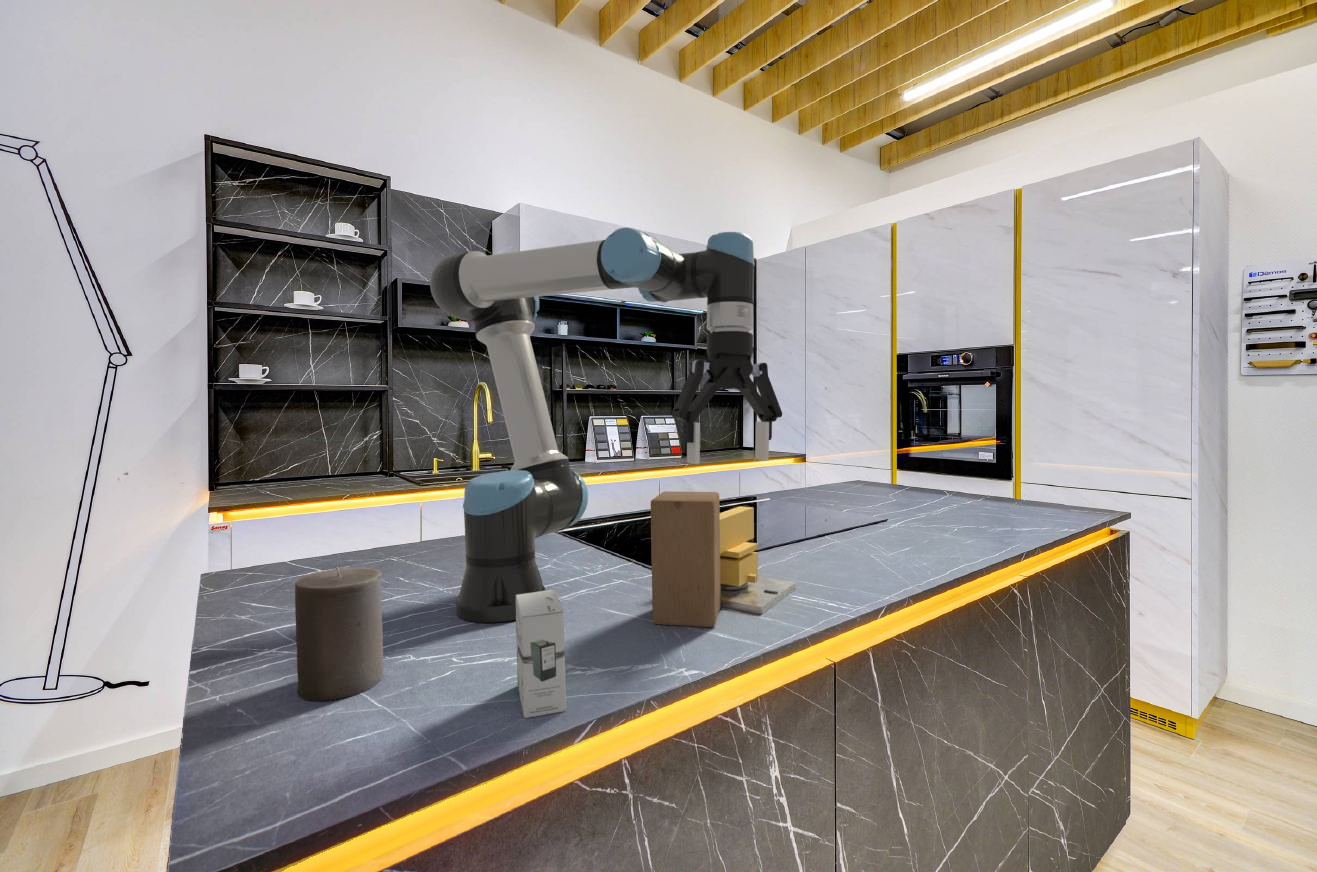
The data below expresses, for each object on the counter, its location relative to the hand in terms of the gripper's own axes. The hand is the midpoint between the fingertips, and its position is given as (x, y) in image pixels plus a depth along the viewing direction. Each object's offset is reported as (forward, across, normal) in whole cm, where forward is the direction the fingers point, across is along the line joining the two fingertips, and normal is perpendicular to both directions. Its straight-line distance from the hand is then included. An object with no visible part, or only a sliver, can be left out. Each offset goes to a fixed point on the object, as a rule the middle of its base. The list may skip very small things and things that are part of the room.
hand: (728, 461), depth 95 cm
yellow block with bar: (+23, +6, +9) cm, 25 cm away
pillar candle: (+26, -57, +3) cm, 63 cm away
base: (+25, +6, +9) cm, 28 cm away
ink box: (+26, -36, -13) cm, 46 cm away
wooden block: (+26, -6, +2) cm, 27 cm away
